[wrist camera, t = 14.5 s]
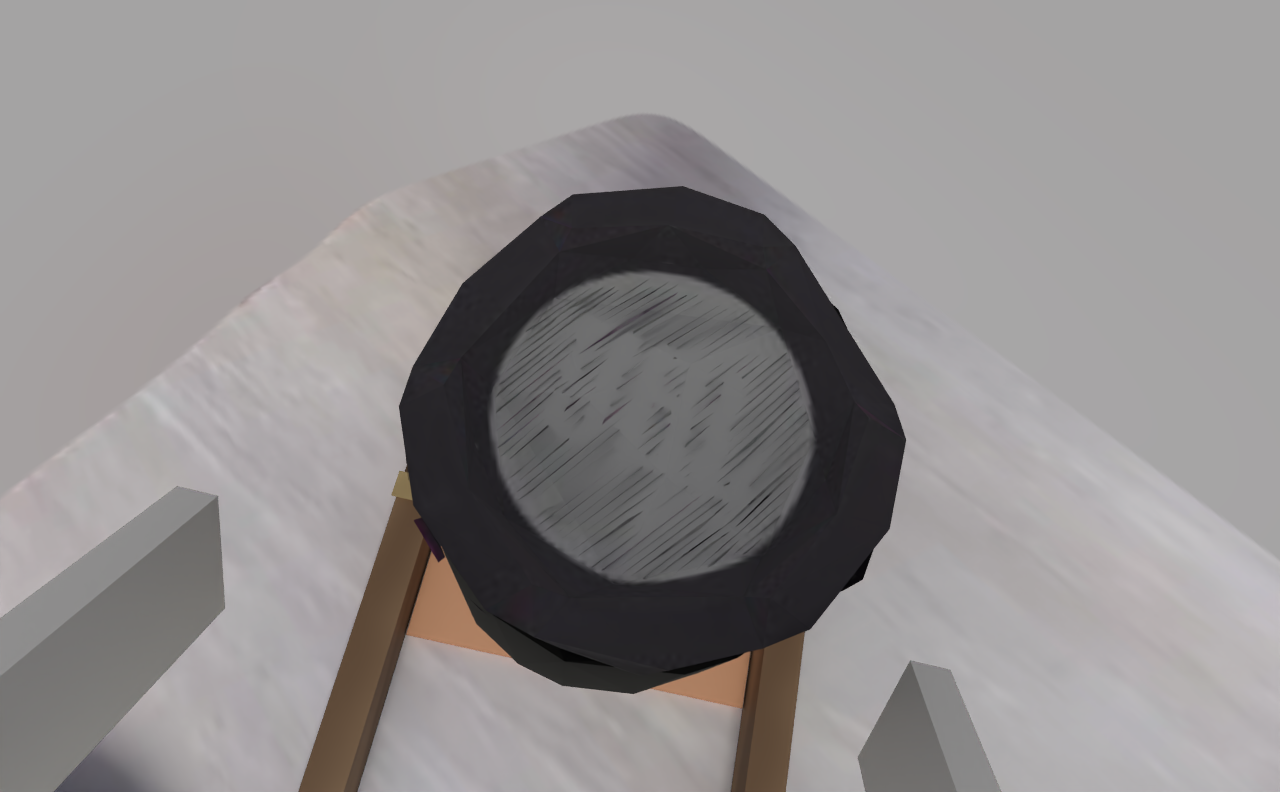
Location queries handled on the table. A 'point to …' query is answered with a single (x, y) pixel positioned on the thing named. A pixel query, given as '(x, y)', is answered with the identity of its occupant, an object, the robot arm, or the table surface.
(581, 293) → the portable speaker
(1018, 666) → the table surface
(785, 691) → the rail track
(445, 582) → the flat panel
